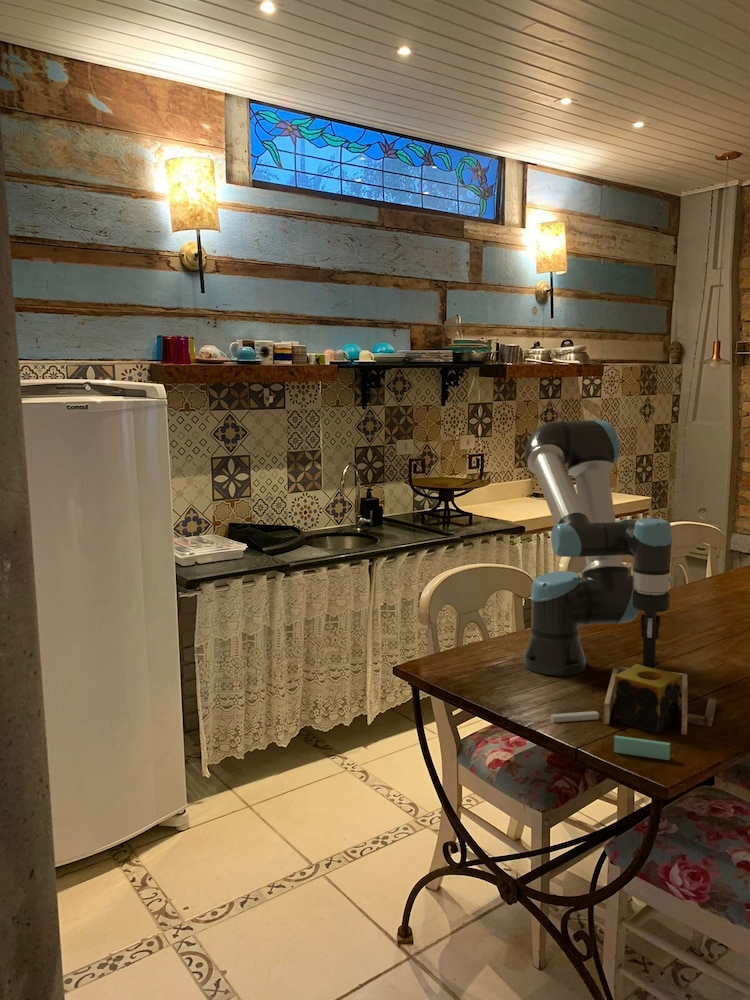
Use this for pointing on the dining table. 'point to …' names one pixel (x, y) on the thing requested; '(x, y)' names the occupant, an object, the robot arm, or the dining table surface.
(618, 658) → the dining table surface
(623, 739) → the bar
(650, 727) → the candle
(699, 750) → the dining table surface
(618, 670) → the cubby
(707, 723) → the crook tool
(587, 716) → the grey stick
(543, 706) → the dining table surface
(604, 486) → the robot arm
